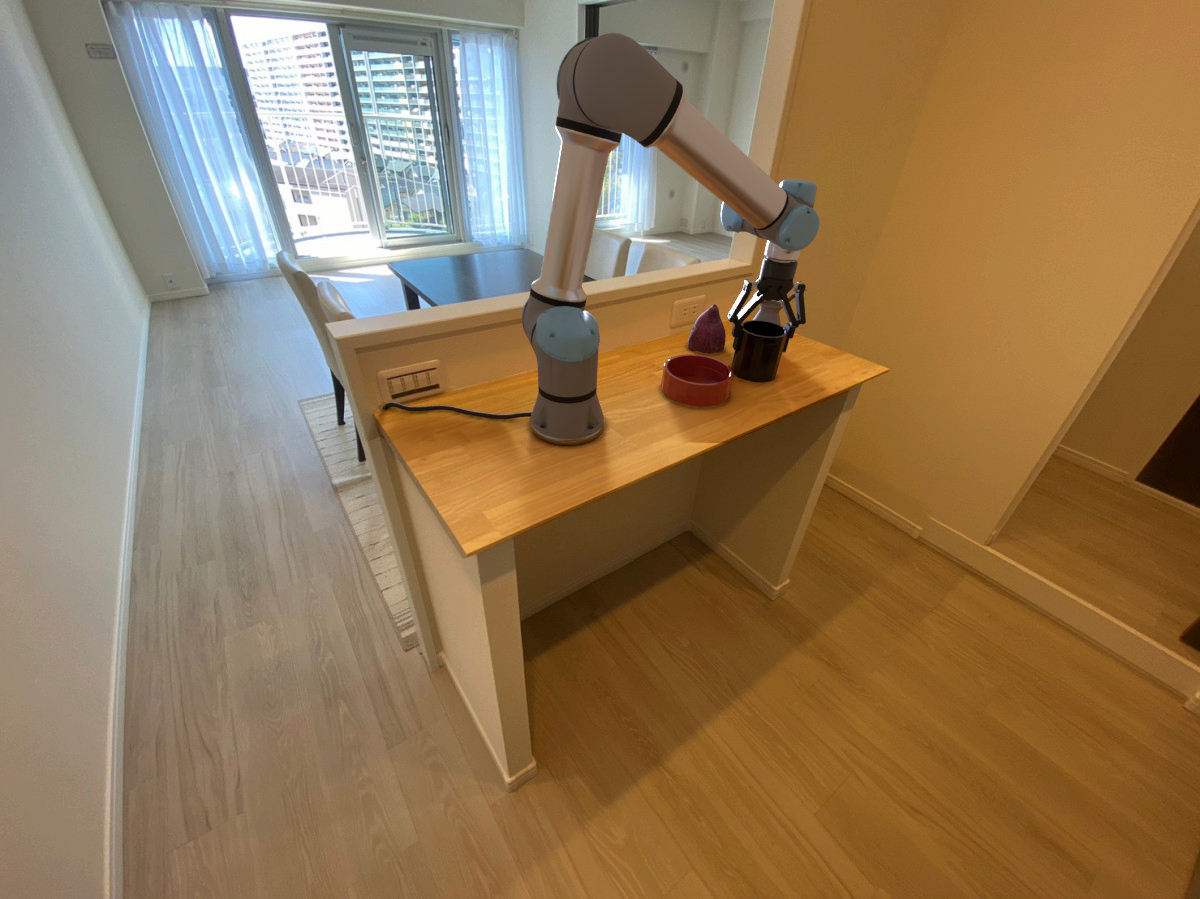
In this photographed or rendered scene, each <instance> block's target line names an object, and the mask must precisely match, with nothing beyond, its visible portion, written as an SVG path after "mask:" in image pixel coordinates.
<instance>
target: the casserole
mask: <svg viewBox="0 0 1200 899" xmlns="http://www.w3.org/2000/svg"><path fill="white" fill-rule="evenodd" d="M733 380H734V372H733V370H732V368H731V366H730V365H729V364H727V363H726V362H724V361H722V360H720V359H718V358H715V357H712V356H708V355H704V354H703V355H702V354H691V353H690V354H689V353H688V354H687V353H686V354H678V355H675V356H672V357H670V358H668V359H666V360H665V361H664V364H663V368H662V375H661V385H660V387H661V391H662V393H663V394H664V395H665V396H666V397H668V399H671V400H672V401H674V402H677V403H680V404H681V405H686V406H690V407H700V408H704V407H705V408H709V407H714V406H715V407H716V406H718V405H721V404H723V403H725V402H726V401H727V400H728V399H729V397H730V392H731V388H732V383H733Z"/></svg>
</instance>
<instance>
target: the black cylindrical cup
mask: <svg viewBox="0 0 1200 899" xmlns="http://www.w3.org/2000/svg"><path fill="white" fill-rule="evenodd" d="M742 324H743V326H744V327H743V331H742V336H741V340H740V345H739V349H738V351H735V350H734V352H733V357H732V361H731V366H730V367H731V368H732V370H733V372H734V374H733V376H735V377H736V378H737V379H741V380H743V381H746V382H751V383H758V384H759V383H761V384H764V383H770V382H772V381H774V380H776V378H777V374H778V370H779V367H780V366H779V365H780V363H781V360H782V356H783V353H784V352H783V349H784V345H785V341H786V338H787V334H788V330H787V329H786V328H785V326H783V325H782V324H781V325H779V324H776V323H773V322H769V321H763V320H753V319H751V320H744V321H743V322H742Z"/></svg>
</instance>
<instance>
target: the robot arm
mask: <svg viewBox="0 0 1200 899" xmlns="http://www.w3.org/2000/svg"><path fill="white" fill-rule="evenodd" d="M685 90H686V89H685V86H684V85H683V84H682V83H681V82H680V81H679V80H678V79H677V78H676V77H674V75H672V74H671V73H670V71H668V69H666V68H665V67H664V66H663V65H662V63H660V61H658V60H657V59H656V58H655V56H653V55H652V54H651V53H650V52H649V51H648V50H647V49H646V48H645V47H643V46H642V45H641V44H640V43H638V42H637V41H636V40H635V39H634V38H631V37H629V36H627V35H625V34H622V33H617V32H609V33H604V34H600V35H599V36H596V37H595V36H594V37H588V38H584V39H582V40H579V41H578V42H577V43H575V44H574V45H573V46H572V47H571V48H570V49H568V51H567V52H566V53H565V55H564V57H563V58H562V60H561V62H560V65H559V67H558V71H557V74H556V95H557V99H558V103H557V104H558V105H557V112H556V118H555V126H554V128H555V130H556V132H557V134H558V136H559V138H560V140H561V145H560V150H559V155H558V156H559V157H558V163H557V170H556V175H555V181H554V188H553V194H552V199H551V200H552V201H551V205H550V206H551V207H550V213H549V220H548V226H547V231H546V239H545V244H544V249H543V257H542V263H541V270H540V276H539V277H538V278H537V279H536V280H534V281H533V282H532V283H530V291H529V295H528V298H527V300H526V301H525V303H524V304H523V307H522V312H521V324H522V329H523V331H524V333H525V335H526V337H527V340H528V341H529V344H530V346H531V348H532V350H533V352H534V355H535V358H536V363H537V364H536V365H537V384H538V386H537V388H538V391H537V392H538V393H537V395H536V399H535V402H534V405H533V408H532V411H528V412H527V411H526V412H516V413H509V414H499V413H497V414H495V413H488V412H481V411H474V410H469V409H465V408H460V407H457V406H451V405H424V406H408V405H404V404H401V403H398V402H395V401H393V402H388V403H386V404H384V405H383V406H382V409H383V410H388V409H390V408H398V409H400V410H403V411H407V412H425V411H451V412H455V413H459V414H464V415H467V416H474V417H479V418H486V419H495V420H511V419H518V418H528V417H529V418H530V428H531V431H532V433H533V434H534V435H535V436H536V437H537V438H538V439H540V440H542V441H543V442H546V443H549V444H553V445H558V446H578V445H583V444H587V443H589V442H592V441H594V440H595V439H597V438H598V437H599V436H600V435H601V434H602V433H603V432H604V431H603V430H604V428H605V417H604V413H603V409H602V406H601V403H600V400H599V396H598V392H597V391H598V390H597V388H598V370H599V368H598V367H599V348H600V344H601V338H600V337H601V336H600V327H599V323H598V321H597V319H596V318H595V316H594V315H593V314H591V313H590V312H589V311H587V310H586V305H587V299H588V296H587V293H586V292H585V290H584V289H583V283H584V277H585V273H586V269H587V268H586V267H587V264H588V259H589V253H590V248H591V244H592V238H593V233H594V228H595V224H596V219H597V214H598V211H599V210H598V209H599V205H600V200H601V195H602V190H603V186H604V181H605V175H606V172H607V171H606V170H607V166H608V162H609V156H610V154H611V153H612V152H613V151H614V150H616V149H617V148H618V147H619V146H620V145H621V141H622V136H623V134H624V135H626V136H627V137H629V138H631V139H632V140H634V141H635V142H637V143H638V144H639V145H640V146H642V147H643V148H645V149H649V148H656V149H657V151H659V152H660V153H662V154H663V155H664V156H666V157H667V158H668V159H669V160H670V161H672V162H673V163H674V164H676V166H678V167H679V168H680V169H681V170H682V171H684V172H685V173H687V174H688V175H689V176H690V177H691V178H692V179H694V180H695V181H696V182H698V183H699V184H700V185H701V186H702V187H704V188H705V189H706V190H708V191H709V192H710V193H711V194H712V195H714V196H715V197H716V198H717V199H719V200H720V201H721V202H722V204H721V210H720V220H721V225H722V227H723V229H724V230H725V231H726V232H731V233H737V234H739V233H742V232H743V233H748V234H750V235H753V236H755V237H757V238H759V239H762V240H765V241H766V246H765V249H764V255H765V256H764V258H763V259H762V263H761V268H760V272H759V277H758V279H757V280H749V279H747V278H746V279H744V281H743V285H742V290H741V291H740V293H739V294H738V296H737V298H736V300H735V301H734V303H733V305H732V306H731V308H730V310H729V312H728V313H727V315H726V319H727V320H728V321H729V322H730V323H733V324H732V329H731V336H732V338H733V342H732V349H733V350H734V352H735V351H738V349H739V345H740V340H741V336H742V331H743V327H744V326H743V324H742V323H743V322H745V321H746V319H748V317H749V316H750V315H751V314H752V313H753V311H754V310H756V308H757V307H758V306H760V304H761V303H762V302H763V301H764V300H766V301H771V300H774V301H778V302H780V303H782V305H783V310H784V313H785V315H786V317H787V320H788V322H786V323H785V324H784V327H785V328H786V329H787V330H788V334H787V338H786V341H785V345H784V349H783V352H782V353H786V352H787V348H788V344H789V341H790V339H791V340H792V339H793V338H794V337H795V332H796V329H798V328H799V326H800V325H805V324H806V323H807V317H806V306H805V304H806V303H805V292H806V290H805V289H806V288H807V287H806V283H804V282H802V281H801V280H799V281H797V282H794V278H795V275H796V272H797V269H798V265H799V262H798V261H797V260H800V257H801V254H802V250H804V249H805V248H807V247H808V246H810V245H811V243H812V242H813V241H814V240H815V238H816V237H817V235H818V233H819V230H820V216H819V214H818V212H817V211H816V210H815V209H814V207H815V201H816V196H817V190H818V186H817V183H815V182H814V181H811V180H806V179H798V178H797V179H796V178H794V179H793V178H788V179H783V180H782V181H781V182H780V183H779V184H778V183H777V182H776V181H775V180H774V179H773V178H771V177H770V175H769V174H767V173H766V171H764V170H763V169H762V168H761V167H760V166H758V165H757V164H756V163H755V162H754V161H753V160H752V159H751V158H750V156H748V155H746V153H744V152H743V150H741V148H739V147H738V146H737V145H736V144H735V143H734V142H732V141H731V139H730V138H728V136H726V135H725V134H724V133H723V132H722V131H721V130H720V129H719V128H718V127H716V126H715V125H714V123H712V122H711V121H710V120H709V119H708V118H707V117H706V116H705V115H704V114H702V112H700V111H699V110H698V108H696V107H695V106H694V105H693V104H692V103H690V102H689V101H688V99H687V98H685V96H686V95H685ZM755 288H756V289H757V291H756V292H754V294H753V297H752V298H751V299H749V297H750V295H751V292H753V291H754V290H755ZM792 290H793V291H794V293H795V298H794V299H795V309H796V310H795V312H796V315H795V313H794V310H793V307H792V304H791V303H790V302H789V299H788V298H789V296H788V294H789V293H790V292H791V291H792ZM748 299H749V301H748V302H747V300H748ZM746 302H747V303H746ZM745 303H746V304H745Z"/></svg>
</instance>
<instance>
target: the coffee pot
mask: <svg viewBox="0 0 1200 899" xmlns="http://www.w3.org/2000/svg"><path fill="white" fill-rule="evenodd" d="M807 292H808V291H807V289H806V288H805V291H804V294H806V293H807ZM788 299H789V303H790V302H791V301H793V300H794V299H795V292H793V293H792V294H790V296H788ZM782 309H784V307H783V305H782V303H781V301H774V300H771V301H766V300H764V301H763V302H762V303H761V304H759V310H758V312H757V313H756V314H755V316H754V317H753V318H752V320H763V321H769V322H773V323H776V324H779V325H781V326H782V323H781V317H780V311H781V310H782Z"/></svg>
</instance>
